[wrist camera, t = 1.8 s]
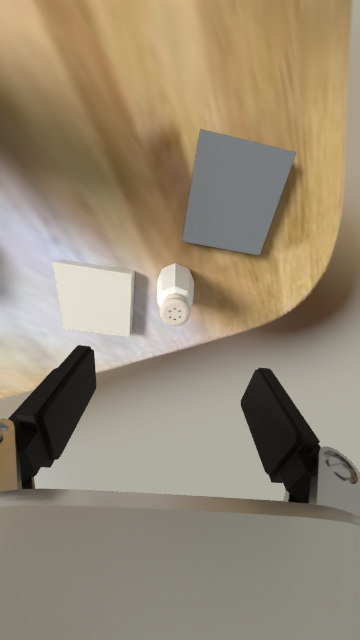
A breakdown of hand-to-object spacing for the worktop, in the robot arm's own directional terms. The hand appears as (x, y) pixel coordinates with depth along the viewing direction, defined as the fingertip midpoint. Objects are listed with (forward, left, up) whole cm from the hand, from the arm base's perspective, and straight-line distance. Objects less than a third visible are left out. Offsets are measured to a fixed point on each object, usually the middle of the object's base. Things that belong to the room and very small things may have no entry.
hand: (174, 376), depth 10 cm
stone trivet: (+4, -11, -18) cm, 21 cm away
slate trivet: (-11, +5, -18) cm, 22 cm away
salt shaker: (-1, 0, -18) cm, 18 cm away
